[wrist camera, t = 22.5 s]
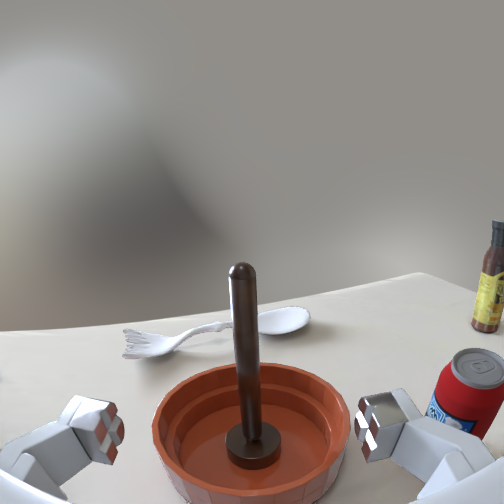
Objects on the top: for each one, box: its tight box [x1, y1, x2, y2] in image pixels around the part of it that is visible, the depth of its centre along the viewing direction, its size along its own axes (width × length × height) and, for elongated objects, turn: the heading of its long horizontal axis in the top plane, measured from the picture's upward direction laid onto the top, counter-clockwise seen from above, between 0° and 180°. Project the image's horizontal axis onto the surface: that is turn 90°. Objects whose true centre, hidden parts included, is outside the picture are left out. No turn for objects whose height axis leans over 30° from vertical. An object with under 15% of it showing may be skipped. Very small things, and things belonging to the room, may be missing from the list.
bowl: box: [152, 362, 351, 504], centre depth 23 cm, size 17×17×6 cm
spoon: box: [122, 306, 311, 359], centre depth 47 cm, size 9×32×4 cm, turn 111°
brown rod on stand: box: [225, 262, 281, 470], centre depth 22 cm, size 5×5×19 cm
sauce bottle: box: [472, 220, 504, 332], centre depth 38 cm, size 6×6×20 cm
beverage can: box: [424, 348, 504, 440], centre depth 17 cm, size 7×7×12 cm
